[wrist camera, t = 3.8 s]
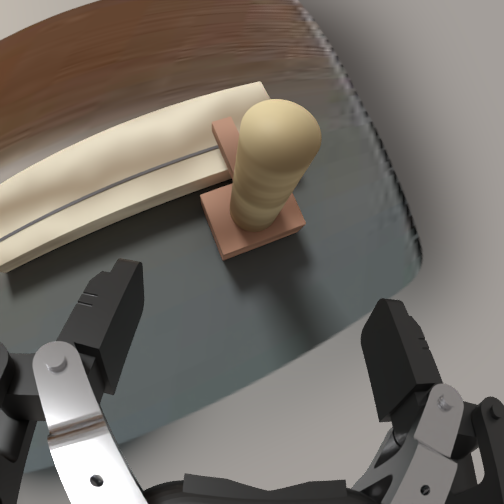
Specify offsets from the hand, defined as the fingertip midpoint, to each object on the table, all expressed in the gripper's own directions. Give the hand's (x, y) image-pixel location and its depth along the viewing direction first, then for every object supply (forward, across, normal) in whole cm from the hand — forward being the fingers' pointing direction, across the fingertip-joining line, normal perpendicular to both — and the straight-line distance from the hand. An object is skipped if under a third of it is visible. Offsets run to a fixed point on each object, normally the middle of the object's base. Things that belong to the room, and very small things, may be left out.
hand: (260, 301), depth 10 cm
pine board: (+15, +10, +3) cm, 18 cm away
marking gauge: (+15, +1, +3) cm, 15 cm away
